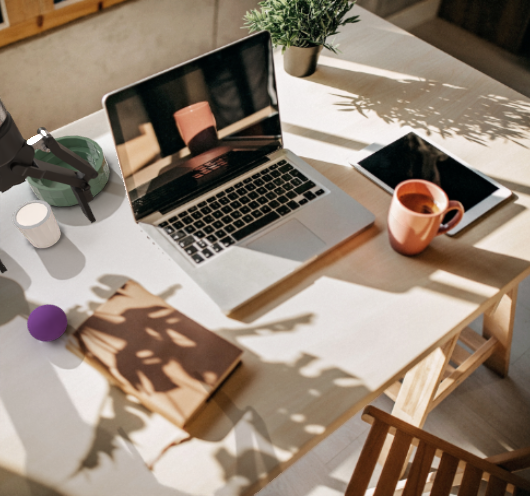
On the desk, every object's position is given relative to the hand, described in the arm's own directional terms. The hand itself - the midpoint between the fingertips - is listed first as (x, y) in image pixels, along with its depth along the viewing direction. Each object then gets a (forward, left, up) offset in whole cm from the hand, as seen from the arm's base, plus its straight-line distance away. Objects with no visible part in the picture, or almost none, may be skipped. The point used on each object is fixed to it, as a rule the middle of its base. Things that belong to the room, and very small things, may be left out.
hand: (47, 240), depth 71 cm
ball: (-4, -5, -15) cm, 17 cm away
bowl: (-8, +30, -18) cm, 36 cm away
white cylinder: (-10, +15, -19) cm, 26 cm away
